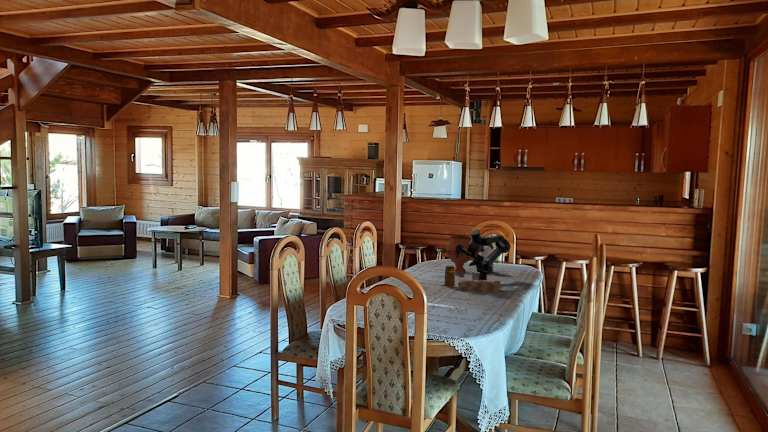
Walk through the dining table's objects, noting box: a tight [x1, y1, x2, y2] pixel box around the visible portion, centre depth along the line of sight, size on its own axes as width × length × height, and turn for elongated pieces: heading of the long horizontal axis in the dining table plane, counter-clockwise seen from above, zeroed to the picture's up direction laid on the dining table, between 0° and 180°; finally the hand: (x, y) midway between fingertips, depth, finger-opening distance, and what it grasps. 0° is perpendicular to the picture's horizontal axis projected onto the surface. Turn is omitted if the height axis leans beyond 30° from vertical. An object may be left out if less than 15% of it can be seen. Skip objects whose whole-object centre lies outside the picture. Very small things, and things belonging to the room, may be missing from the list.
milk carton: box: [479, 243, 495, 270], centre depth 399 cm, size 9×9×20 cm
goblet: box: [445, 234, 472, 274], centre depth 395 cm, size 19×19×25 cm
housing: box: [457, 278, 501, 293], centre depth 338 cm, size 24×9×5 cm, turn 79°
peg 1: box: [463, 272, 473, 282], centre depth 339 cm, size 4×4×4 cm
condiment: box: [439, 265, 456, 288], centre depth 348 cm, size 7×8×12 cm
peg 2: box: [487, 274, 496, 283], centre depth 337 cm, size 4×4×4 cm
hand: (462, 261), depth 341 cm, fingers open, 9 cm apart
